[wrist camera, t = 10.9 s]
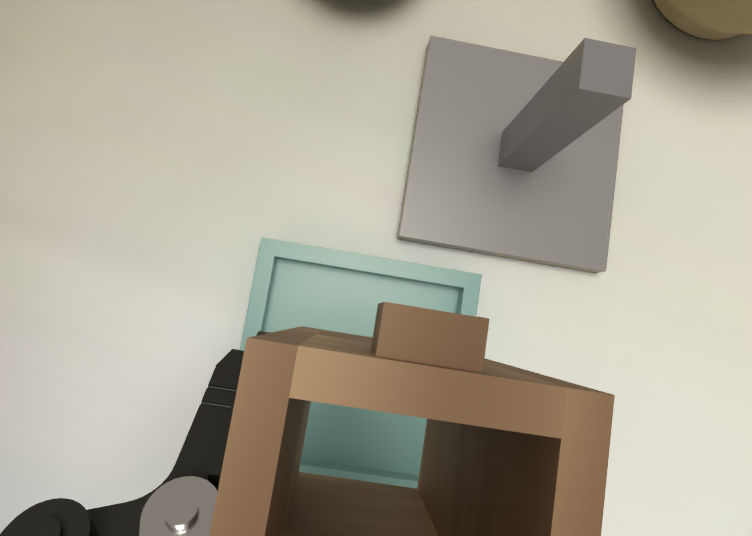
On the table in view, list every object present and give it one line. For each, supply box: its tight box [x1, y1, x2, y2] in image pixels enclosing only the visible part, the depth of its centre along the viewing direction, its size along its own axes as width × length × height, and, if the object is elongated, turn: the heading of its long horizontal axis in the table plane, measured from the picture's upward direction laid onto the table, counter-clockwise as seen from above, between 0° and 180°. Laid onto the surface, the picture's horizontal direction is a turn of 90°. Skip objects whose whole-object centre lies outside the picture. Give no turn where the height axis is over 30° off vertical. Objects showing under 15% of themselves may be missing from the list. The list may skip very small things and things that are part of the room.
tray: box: [240, 237, 482, 488], centre depth 30 cm, size 14×14×2 cm
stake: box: [397, 36, 636, 273], centre depth 27 cm, size 14×14×12 cm
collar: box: [209, 302, 614, 536], centre depth 11 cm, size 5×6×9 cm
